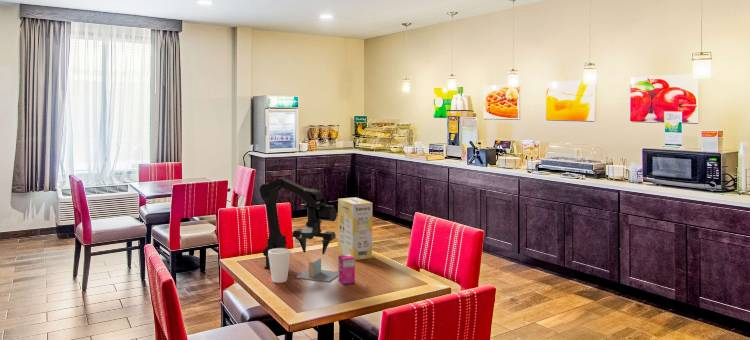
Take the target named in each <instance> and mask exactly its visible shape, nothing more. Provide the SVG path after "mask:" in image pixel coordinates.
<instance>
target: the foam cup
mask: <svg viewBox="0 0 750 340" xmlns="http://www.w3.org/2000/svg"><path fill="white" fill-rule="evenodd" d="M291 254H292V252H291V249H289V248H276V249H271V250H269V251H268V257H269V263H270V269H269V270H270V277H271V282H273V283H277V284H278V283H284V282H285V283H286V282H287V281H288V275H289V268H290V260H291Z"/></svg>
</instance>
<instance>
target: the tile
mask: <svg viewBox="0 0 750 340" xmlns="http://www.w3.org/2000/svg"><path fill="white" fill-rule="evenodd" d="M308 269H309V277H315V276H316V275H317V274H319V273H320V272H321V270H322V258H321V257H315V258H313V259H312V260H310V261H308Z"/></svg>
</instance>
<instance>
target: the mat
mask: <svg viewBox="0 0 750 340" xmlns="http://www.w3.org/2000/svg"><path fill="white" fill-rule="evenodd" d="M336 278H338V271H333V270H323V269H321V272H320V273H319V274H317V275H316V276H315V277H309V268H308V269H307V270H305V271H303V272H301V273H300V274H299V275H297V276H296V277H295V279H299V280H308V281H315V282H316V281H317V282H325V283H331V282H332V281H333V280H335V279H336Z"/></svg>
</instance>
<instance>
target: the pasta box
mask: <svg viewBox="0 0 750 340" xmlns="http://www.w3.org/2000/svg"><path fill="white" fill-rule="evenodd" d="M337 200H338V201H337V202H338V203H337V252H338V253H340V255H341V254H342V255H349V254H350V255H352V256H353V257H354V258H355V261H357V260H364V259H372V258H373V202H371V201H369V200H366V199H362V198H359V197H356V196H355V197H345V198H342V197H341V198H338V199H337Z"/></svg>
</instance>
